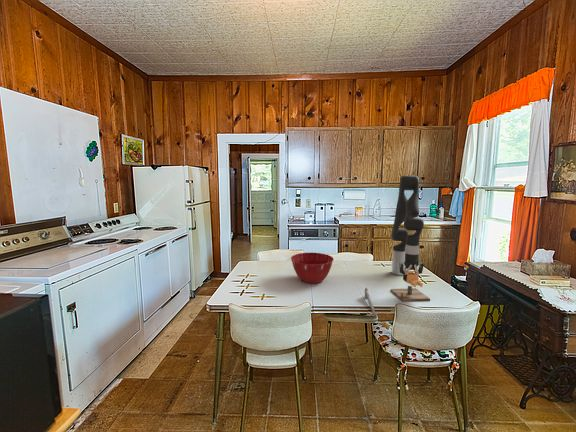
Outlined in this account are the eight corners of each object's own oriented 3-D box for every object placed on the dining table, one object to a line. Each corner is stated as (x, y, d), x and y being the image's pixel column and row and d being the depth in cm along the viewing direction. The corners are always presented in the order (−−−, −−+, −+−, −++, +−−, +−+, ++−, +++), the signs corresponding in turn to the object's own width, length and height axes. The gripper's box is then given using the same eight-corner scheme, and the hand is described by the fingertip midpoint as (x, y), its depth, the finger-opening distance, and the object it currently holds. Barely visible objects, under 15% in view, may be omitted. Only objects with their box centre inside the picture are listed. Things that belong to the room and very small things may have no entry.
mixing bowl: (331, 289, 184) (332, 265, 182) (286, 285, 190) (287, 262, 188) (334, 274, 211) (334, 253, 210) (294, 272, 217) (294, 251, 215)
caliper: (364, 297, 172) (364, 286, 171) (366, 297, 172) (366, 286, 171) (372, 313, 152) (373, 301, 151) (375, 313, 152) (375, 301, 151)
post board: (390, 290, 182) (391, 282, 181) (415, 290, 183) (416, 281, 182) (402, 301, 166) (403, 292, 165) (430, 300, 167) (430, 291, 166)
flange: (403, 279, 176) (403, 271, 175) (412, 279, 176) (413, 271, 176) (413, 287, 164) (413, 278, 163) (423, 286, 165) (424, 278, 164)
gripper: (420, 250, 175) (418, 278, 177) (397, 251, 174) (395, 278, 176) (427, 253, 168) (425, 282, 170) (403, 254, 167) (401, 283, 169)
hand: (410, 280), depth 173 cm, fingers closed on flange, 6 cm apart
